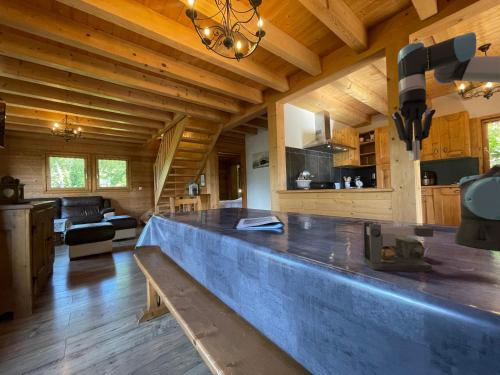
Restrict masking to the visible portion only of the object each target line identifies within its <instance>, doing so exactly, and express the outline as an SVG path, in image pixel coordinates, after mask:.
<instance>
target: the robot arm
mask: <svg viewBox="0 0 500 375" xmlns="http://www.w3.org/2000/svg"><path fill="white" fill-rule="evenodd" d="M476 52H477V35H476V33H475V32H473V31H471V32H467V33H464V34H461V35H456V36H454V37H452V38H449V39H445V40H443V41H440V42H438V43H434V44H431V45H429V46H425V44H424V42H420V41H418V42H416V43H415V42H413V43H409V44H407V45H406V46H404V47H402V48H401V49H400V51H398V54H397V64H396V65H397V80H398V81H397V83H398V94H399V96H398V103H399V104H398V106H399V108H398V109H397V111H396V112H394V113H393V114H391V115H390V117H391V118H392V120H393V121H394V124H395V128H396V131H397V134H398V138H399V141H401V142H404V143H405V148H406V151H407V152H408V160H409V162H413V161H416V162H417V161H420V160H421V151H422V149H423V141H424V140H425V139H428V138H429V136H430V130H431V126H432V121H433V116H434V115H435V114H436V109H429V107H428V105H427V103H426V102H427V90H426V87H427V83H426V72H430V71H433V70H434V71H433V76H434V79H435V82H437V83H438V84H441V85H446V84H451V83H452V82H454V81H455V82H458V81H459V82H479V83H500V55H496V56H495V55H494V56H493V55H489V56H488V55H487V56H485V55H484V56H481V55H480V56H476ZM423 116H424V117H423ZM422 120H423V121H422ZM413 137H414V138H413ZM458 188H459V202H460V203H459V205H460V209H459V210H460V222H459V224H458V226H457V228H456V233H455V235H454V242H455V243H456V244H458V245H462V246H464V247H465V246H466V247H470V248H471V247H472V248H475V249H482V250H483V249H484V250H490V249H494V250H493V251H500V164H494V165H493V166H492V167H491V168H490V169H488V170H487V171H486V172H485V173H483V174H476V175H470V176H464V177H462V178H461V179H460V180H459V184H458Z"/></svg>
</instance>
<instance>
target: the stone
mask: <svg viewBox="0 0 500 375" xmlns="http://www.w3.org/2000/svg"><path fill="white" fill-rule="evenodd" d="M389 247H391V248H393V250H394V251H395V257H415V258H418V259H419V258H422V257H424V256H425V247H424V245H423V243H422V242H421V241H419V240H418V239H415V238H414V237H411V236H396V246H389Z"/></svg>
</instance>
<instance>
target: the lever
mask: <svg viewBox="0 0 500 375" xmlns="http://www.w3.org/2000/svg"><path fill="white" fill-rule="evenodd" d="M366 231H367V234H368V235H369V226H366ZM396 236H406V237H420V238H422V237H423V238H429V237H430V238H431V237H432V238H433V237H434V228H432V227H429V226H426V225H421V224H419V225H416V224H414V225H405V226H404V225H398V226H397V225H387V226H386V225H385V226H384V225H381V245H382V246H396Z"/></svg>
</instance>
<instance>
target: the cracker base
mask: <svg viewBox="0 0 500 375" xmlns="http://www.w3.org/2000/svg"><path fill="white" fill-rule="evenodd" d="M366 226H369V235H368V234H367V231H366ZM381 226H382V225H381V224H377V223H376V224H374V222H373V221H362V243H363V244H362V245H363V246H362V247H363V262H364V263H365V264H366V265H367V266H368V267H369V268H370V269H371V270H373V271H393V272H394V271H395V272H396V271H399V272H400V271H401V272H402V271H403V272H404V271H405V272H428V273H429V272H430V273H431V272H432V271H433V268H432V267H433V266H432V264H429V263H428V262H426V261H424V260H422V259H420V258H419V257H418V258H415V257H396V256H395V251H394V250H393V248H391V247H389V246H382V245H381Z"/></svg>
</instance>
